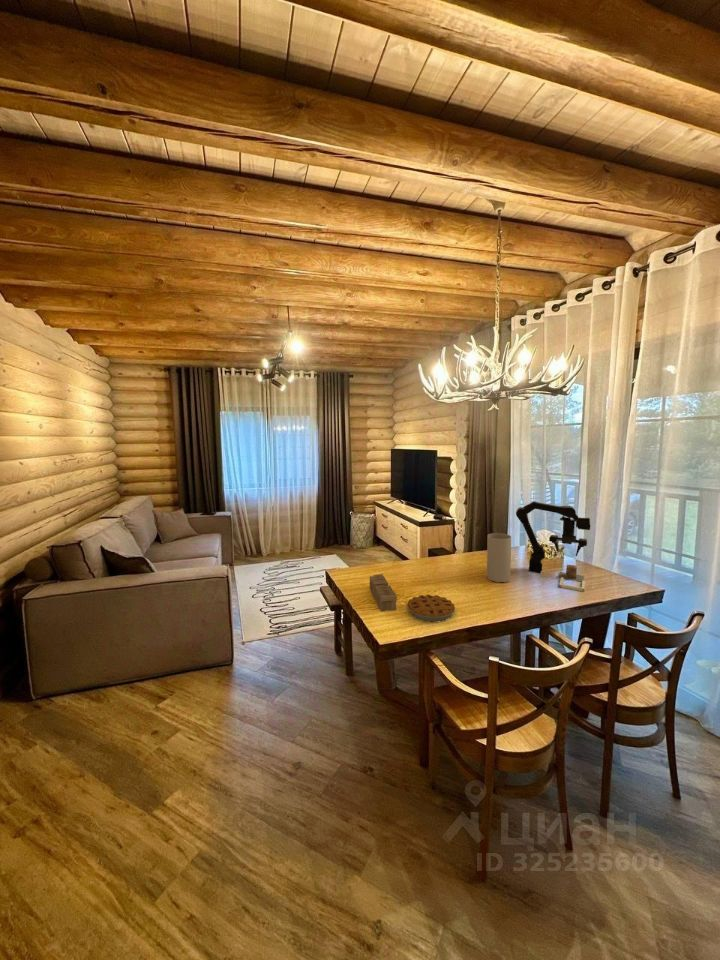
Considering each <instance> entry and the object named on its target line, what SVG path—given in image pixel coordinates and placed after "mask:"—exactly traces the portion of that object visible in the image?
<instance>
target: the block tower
mask: <svg viewBox="0 0 720 960" xmlns="http://www.w3.org/2000/svg"><path fill="white" fill-rule="evenodd" d="M370 590H371V591H370ZM369 591H370V592H371V595H372V596H373V599H374V601H375V603H376V605H377V606H378V608H380V609H379V610H380V612H386V611H385V610H388V611H395V609H396V610H397V601H398V599H397V598H398V596H397V594H396V592H395V591H394V590H393V588H392V587H391V585H389V582H388V580H387V578H386V577H385V576H384V574H383V573H380V574H373V575H372V576H371V575H370V576H369Z"/></svg>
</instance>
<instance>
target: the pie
mask: <svg viewBox="0 0 720 960" xmlns="http://www.w3.org/2000/svg"><path fill="white" fill-rule="evenodd" d="M406 607H407V609H408V611H410V613H411V615H412V616H413V617H414V616H415V617H414V618H415V619H417V618H418V619H417V620H419V619H420V621H421V620H423V621H422V622H427V621H430V622H429V623H432V622H431V621H440V622H442V620H444V621H447V620H449V619H450V617H451V618H452V616H453V614H454V613H455V611H456V607H455V604H454V603H453V602H452V600H450V599H448V598H446V597H443V596H440V595H438V594H436V595H432V594H426V595H423V594H421V595H418V596H413V597H412V599H411V598H410V599H409V600H408V601H407V604H406ZM448 618H449V619H448ZM446 619H447V620H446Z"/></svg>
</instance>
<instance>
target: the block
mask: <svg viewBox="0 0 720 960" xmlns="http://www.w3.org/2000/svg"><path fill="white" fill-rule="evenodd" d="M565 570H566V571H565V573H566V577H567V578H573V579H576V576H577V575H578V574H577V573H578V565H574V564H566V567H565Z"/></svg>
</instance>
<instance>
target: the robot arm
mask: <svg viewBox="0 0 720 960" xmlns="http://www.w3.org/2000/svg"><path fill="white" fill-rule="evenodd" d="M534 510H540V511H545V512H551V513H555V514H559V515H561V517H559V521H561V522H563V523H562V534H561V536H560V537H559V535H556V534H550V536H549V538H548V539H549V540H548V541H549V542H551V543H552V544H553V545H554V546H555V549H556V552H557V554H559V553H560V546H559V544H560V543H559V541H560V542H561V543H562V544H564V545H565V544H567V545H572V543H574V544H577V548H576V552H575V557H577V556H578V554H579V552H580V550H582V548H585V547H587V546H588V539H587V538H581V537H580V538H578V539H577V535H575V528H577V529H578V530H584V531H590V530H591V519H590V517H579V515H578V514H577V512H576V510H575V508H574V506H571V505H554V504H549V503H544V502H540V501H539V502H538V501H534V500H533V501H531V502H529V503H528V504H526V505H524V506H520V507H518V508H517V509H516V512H515V515H516V517H517V519H518V520H519V522H521V524H522V525H523V528H524V530H525V533H526V535H527V538H528V540H529V542H530V544H531V548H532V553H531V554H530V555H529V561H528V563H529V565H528V566H529V567H528V572H531V573H532V572H533V573H538V574H541V572H542V571H543V562H542V561H543V560H544V559H545V558H546V549H544V545H543V544H542V543H541V544H540V543H539V541H538V539H537V536H536V534H535V532H534V530H533V528H532V527H533V526H532V525H531V522H530V521H529V520H530V519H529V515H528V514H530V513H531V512H532V511H534Z"/></svg>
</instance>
